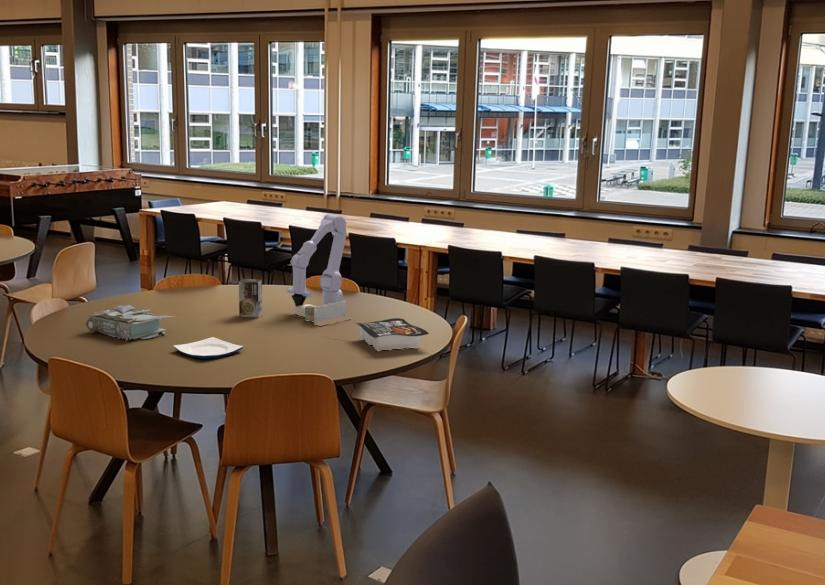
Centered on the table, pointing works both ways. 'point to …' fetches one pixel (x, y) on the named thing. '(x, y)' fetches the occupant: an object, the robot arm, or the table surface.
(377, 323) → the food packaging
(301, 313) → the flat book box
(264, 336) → the table surface
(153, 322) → the ornate clasped book
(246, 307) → the coffee box
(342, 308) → the metal bookend
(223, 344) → the plate
